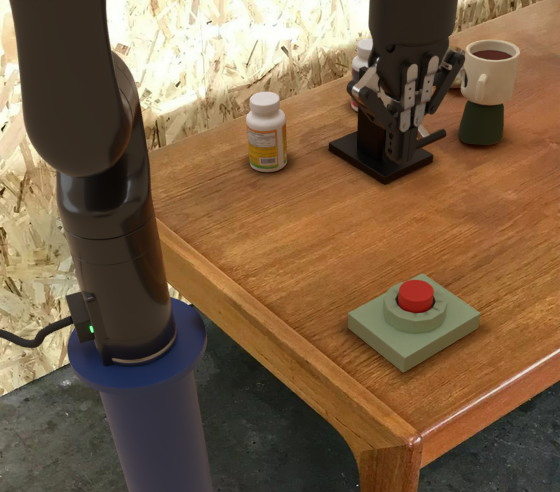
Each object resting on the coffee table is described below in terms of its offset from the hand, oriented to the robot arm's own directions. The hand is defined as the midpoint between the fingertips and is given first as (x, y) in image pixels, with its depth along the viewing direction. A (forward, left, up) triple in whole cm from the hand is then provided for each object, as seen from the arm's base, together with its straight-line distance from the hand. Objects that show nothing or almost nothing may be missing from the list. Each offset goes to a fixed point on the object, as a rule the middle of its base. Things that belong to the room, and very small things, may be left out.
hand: (400, 159), depth 79 cm
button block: (0, -6, -17) cm, 18 cm away
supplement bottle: (-2, +33, -18) cm, 37 cm away
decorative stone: (+35, +44, -18) cm, 59 cm away
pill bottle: (+18, +42, -18) cm, 49 cm away
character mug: (+28, +26, -18) cm, 42 cm away
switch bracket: (+13, +28, -17) cm, 35 cm away
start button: (0, -6, -14) cm, 15 cm away
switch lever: (+13, +25, -10) cm, 30 cm away
